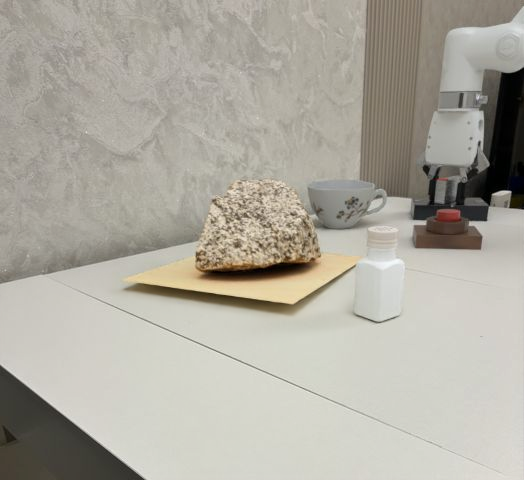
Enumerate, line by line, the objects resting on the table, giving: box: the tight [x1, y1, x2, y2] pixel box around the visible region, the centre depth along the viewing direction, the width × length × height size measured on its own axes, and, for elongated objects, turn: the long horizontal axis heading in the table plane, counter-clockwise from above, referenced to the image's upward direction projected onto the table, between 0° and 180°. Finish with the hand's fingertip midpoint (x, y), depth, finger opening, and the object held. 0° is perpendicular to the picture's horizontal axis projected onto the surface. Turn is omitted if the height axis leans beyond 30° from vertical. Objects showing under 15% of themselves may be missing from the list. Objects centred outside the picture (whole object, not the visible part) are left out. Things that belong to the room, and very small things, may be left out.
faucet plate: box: [409, 196, 490, 222], centre depth 112 cm, size 14×13×3 cm
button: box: [436, 209, 460, 222], centre depth 89 cm, size 4×4×2 cm
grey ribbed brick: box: [434, 175, 461, 204], centre depth 110 cm, size 9×2×5 cm, turn 139°
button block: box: [412, 216, 484, 251], centre depth 90 cm, size 10×8×4 cm
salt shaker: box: [353, 225, 406, 323], centre depth 58 cm, size 4×4×10 cm
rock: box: [121, 178, 365, 305], centre depth 76 cm, size 28×22×16 cm
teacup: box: [306, 178, 388, 230], centre depth 104 cm, size 15×12×8 cm
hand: (446, 199), depth 111 cm, fingers open, 4 cm apart
